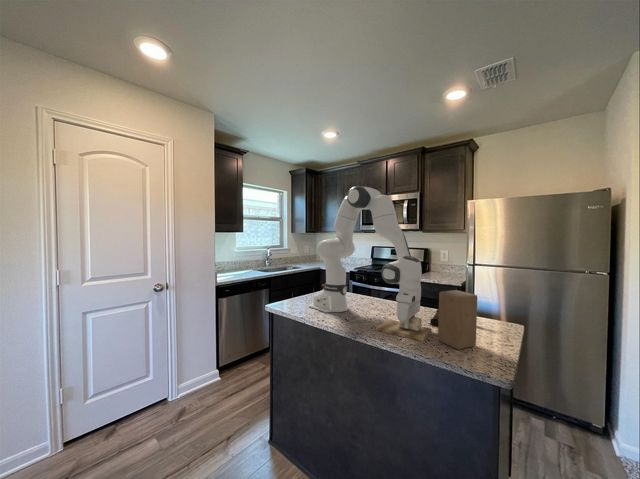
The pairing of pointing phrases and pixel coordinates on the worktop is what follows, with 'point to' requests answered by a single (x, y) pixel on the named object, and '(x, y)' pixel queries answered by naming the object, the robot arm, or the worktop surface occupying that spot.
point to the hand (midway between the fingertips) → (409, 326)
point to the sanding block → (412, 324)
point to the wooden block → (457, 319)
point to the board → (393, 328)
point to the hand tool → (435, 319)
